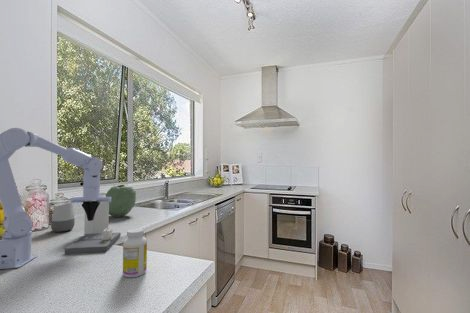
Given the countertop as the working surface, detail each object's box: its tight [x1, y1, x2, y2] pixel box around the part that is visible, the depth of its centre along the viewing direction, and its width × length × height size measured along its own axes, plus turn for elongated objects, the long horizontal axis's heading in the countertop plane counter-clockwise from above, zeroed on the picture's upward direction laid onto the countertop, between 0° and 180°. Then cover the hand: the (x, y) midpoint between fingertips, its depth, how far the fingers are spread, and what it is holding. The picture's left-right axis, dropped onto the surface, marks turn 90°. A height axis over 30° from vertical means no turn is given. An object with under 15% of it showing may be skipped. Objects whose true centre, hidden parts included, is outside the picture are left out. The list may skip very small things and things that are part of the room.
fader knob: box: [102, 227, 113, 240], centre depth 96 cm, size 4×2×4 cm, turn 11°
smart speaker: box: [50, 201, 76, 233], centre depth 115 cm, size 10×9×14 cm
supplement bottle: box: [122, 227, 148, 278], centre depth 71 cm, size 7×7×13 cm
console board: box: [64, 232, 121, 255], centre depth 95 cm, size 18×14×3 cm
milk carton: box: [83, 191, 110, 236], centre depth 109 cm, size 7×7×19 cm
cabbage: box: [105, 183, 137, 218], centre depth 146 cm, size 16×19×20 cm
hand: (90, 220), depth 95 cm, fingers closed
